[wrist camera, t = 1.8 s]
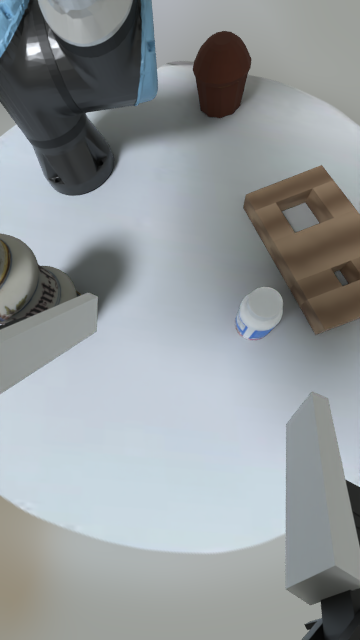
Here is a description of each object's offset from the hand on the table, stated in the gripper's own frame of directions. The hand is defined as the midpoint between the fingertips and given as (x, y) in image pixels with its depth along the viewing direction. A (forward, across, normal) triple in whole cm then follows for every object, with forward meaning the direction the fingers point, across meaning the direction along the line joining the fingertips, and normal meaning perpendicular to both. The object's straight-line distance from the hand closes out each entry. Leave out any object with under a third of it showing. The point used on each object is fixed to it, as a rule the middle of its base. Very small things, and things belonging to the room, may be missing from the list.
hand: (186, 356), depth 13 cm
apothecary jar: (+16, -27, -16) cm, 35 cm away
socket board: (+35, +9, +4) cm, 36 cm away
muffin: (+55, -20, +24) cm, 63 cm away
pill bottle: (+24, +4, -8) cm, 25 cm away
